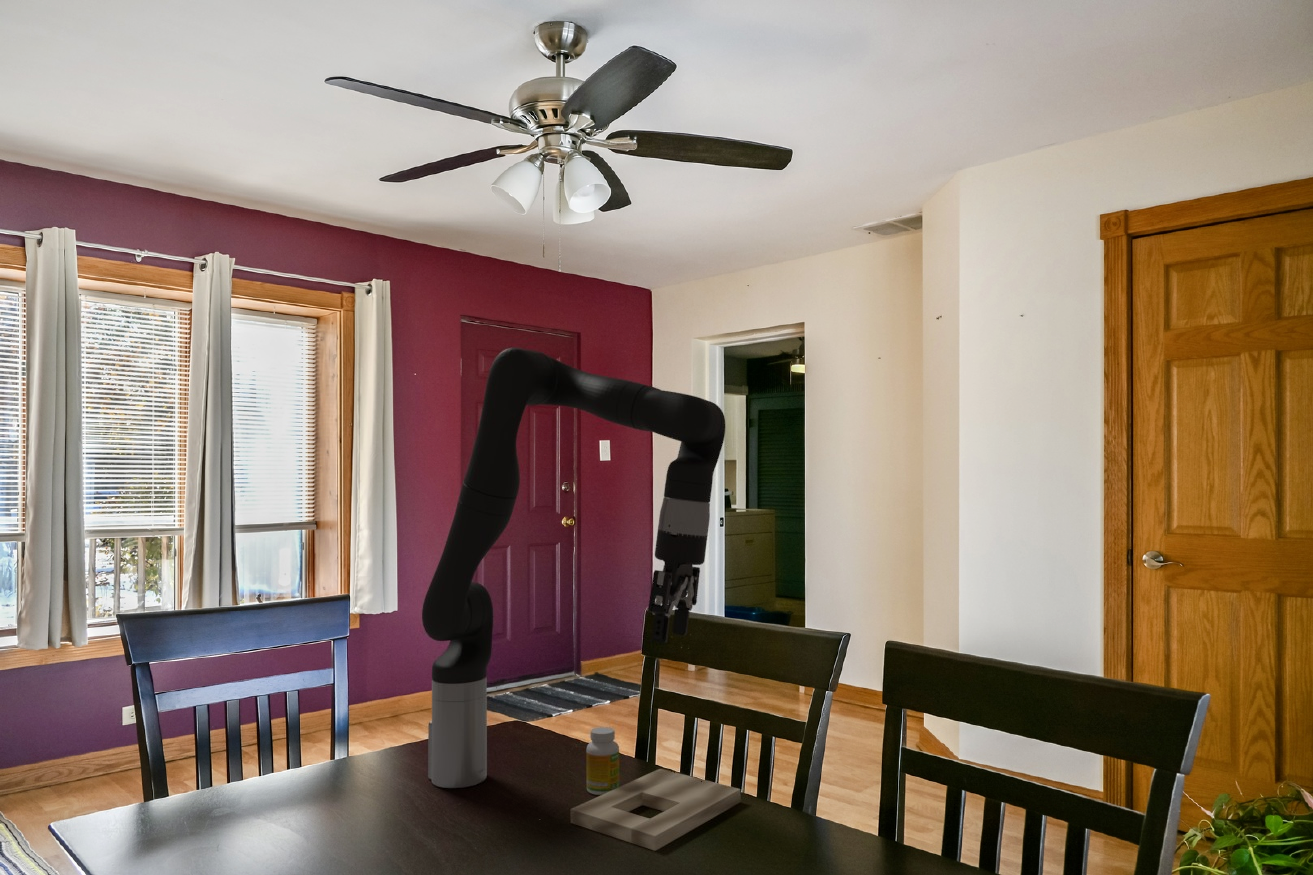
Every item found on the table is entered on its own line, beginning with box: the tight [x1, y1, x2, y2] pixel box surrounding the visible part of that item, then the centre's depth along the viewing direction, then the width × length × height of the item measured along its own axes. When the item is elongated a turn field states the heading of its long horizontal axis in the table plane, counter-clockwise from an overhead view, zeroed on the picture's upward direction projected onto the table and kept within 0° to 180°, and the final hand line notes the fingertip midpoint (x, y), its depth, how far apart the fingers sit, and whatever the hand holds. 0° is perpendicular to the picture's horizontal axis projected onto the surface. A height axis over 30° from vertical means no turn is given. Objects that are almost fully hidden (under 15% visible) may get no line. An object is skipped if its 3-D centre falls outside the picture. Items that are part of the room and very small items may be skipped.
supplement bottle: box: [586, 726, 620, 796], centre depth 141 cm, size 5×5×10 cm
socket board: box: [570, 768, 742, 851], centre depth 131 cm, size 16×22×2 cm
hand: (669, 638), depth 127 cm, fingers open, 8 cm apart
